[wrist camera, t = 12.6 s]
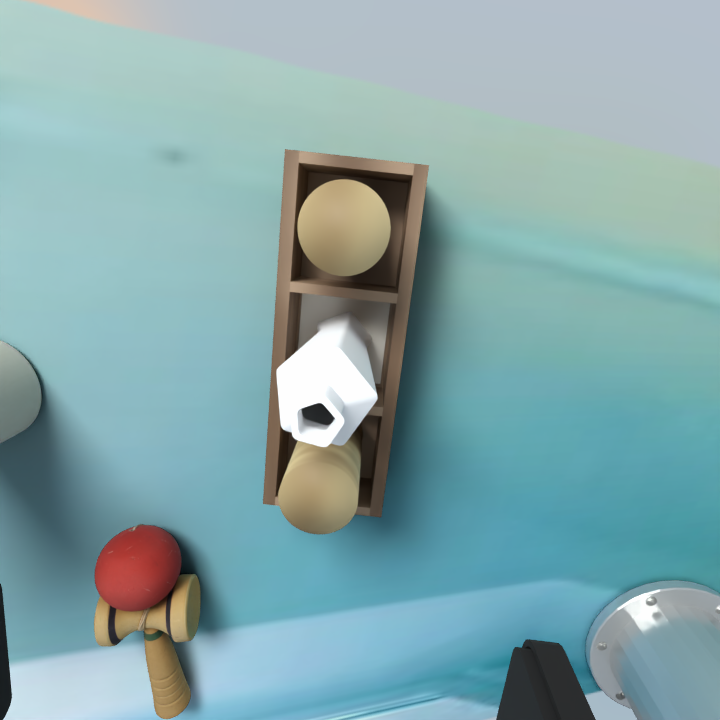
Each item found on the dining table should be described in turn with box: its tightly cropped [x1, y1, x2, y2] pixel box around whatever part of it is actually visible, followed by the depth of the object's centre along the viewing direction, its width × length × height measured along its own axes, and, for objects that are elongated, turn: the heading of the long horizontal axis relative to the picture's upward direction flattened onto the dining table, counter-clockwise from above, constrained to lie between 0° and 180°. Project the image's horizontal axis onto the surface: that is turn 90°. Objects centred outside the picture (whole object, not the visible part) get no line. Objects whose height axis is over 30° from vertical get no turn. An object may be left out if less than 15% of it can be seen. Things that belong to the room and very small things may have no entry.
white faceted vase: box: [276, 311, 377, 447], centre depth 26 cm, size 5×4×15 cm
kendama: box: [94, 524, 201, 719], centre depth 38 cm, size 8×6×18 cm
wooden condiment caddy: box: [263, 149, 429, 534], centre depth 29 cm, size 8×22×10 cm, turn 174°
